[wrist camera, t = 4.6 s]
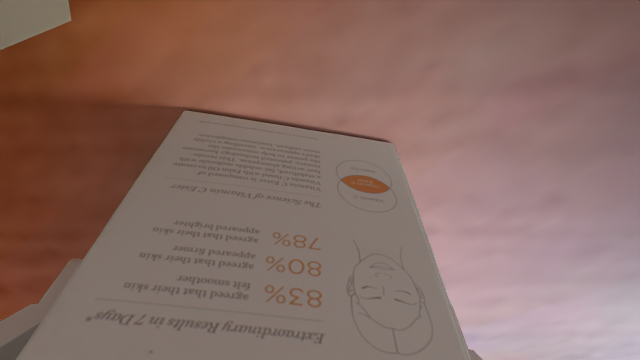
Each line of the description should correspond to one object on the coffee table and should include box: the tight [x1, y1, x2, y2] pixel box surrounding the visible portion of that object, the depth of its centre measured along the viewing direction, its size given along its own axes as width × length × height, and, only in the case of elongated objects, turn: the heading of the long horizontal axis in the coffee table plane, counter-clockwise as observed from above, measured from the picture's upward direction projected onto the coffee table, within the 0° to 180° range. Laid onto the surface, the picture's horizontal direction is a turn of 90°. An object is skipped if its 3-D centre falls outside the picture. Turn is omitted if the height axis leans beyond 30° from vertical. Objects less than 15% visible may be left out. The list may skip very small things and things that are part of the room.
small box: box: [16, 111, 471, 360], centre depth 11 cm, size 8×6×13 cm
